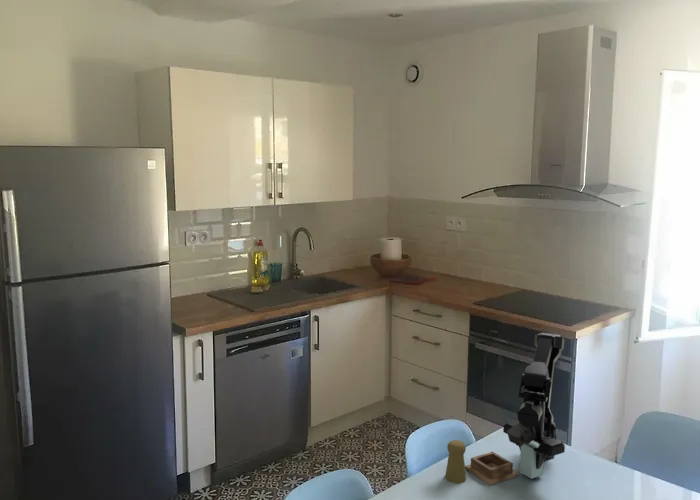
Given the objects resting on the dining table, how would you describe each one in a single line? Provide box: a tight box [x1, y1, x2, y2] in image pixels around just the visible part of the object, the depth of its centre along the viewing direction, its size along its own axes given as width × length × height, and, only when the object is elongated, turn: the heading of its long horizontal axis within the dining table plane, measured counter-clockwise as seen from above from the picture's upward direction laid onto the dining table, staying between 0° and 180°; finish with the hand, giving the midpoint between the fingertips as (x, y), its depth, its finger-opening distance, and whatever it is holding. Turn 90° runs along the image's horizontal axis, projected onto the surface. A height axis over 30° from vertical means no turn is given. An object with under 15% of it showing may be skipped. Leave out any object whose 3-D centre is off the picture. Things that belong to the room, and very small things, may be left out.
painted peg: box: [519, 441, 544, 479], centre depth 177 cm, size 5×5×9 cm
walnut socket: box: [465, 451, 520, 486], centre depth 180 cm, size 11×11×4 cm
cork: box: [444, 439, 467, 484], centre depth 176 cm, size 6×6×11 cm
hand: (531, 465), depth 177 cm, fingers closed on painted peg, 5 cm apart
